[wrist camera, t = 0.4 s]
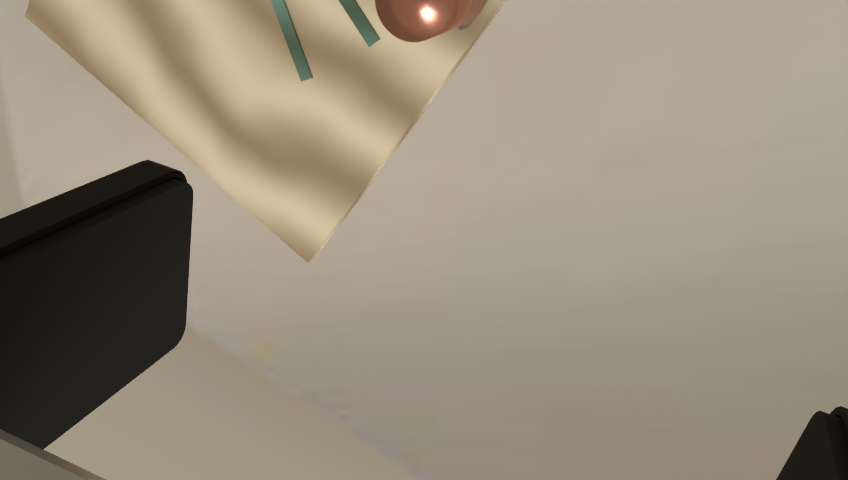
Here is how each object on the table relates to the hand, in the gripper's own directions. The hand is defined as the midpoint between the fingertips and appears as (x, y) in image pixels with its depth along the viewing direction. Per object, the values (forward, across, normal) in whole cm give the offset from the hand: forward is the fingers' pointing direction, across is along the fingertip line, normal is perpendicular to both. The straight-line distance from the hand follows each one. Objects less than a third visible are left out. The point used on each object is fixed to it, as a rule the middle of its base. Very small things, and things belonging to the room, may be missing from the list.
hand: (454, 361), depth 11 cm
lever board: (+32, +23, +2) cm, 40 cm away
